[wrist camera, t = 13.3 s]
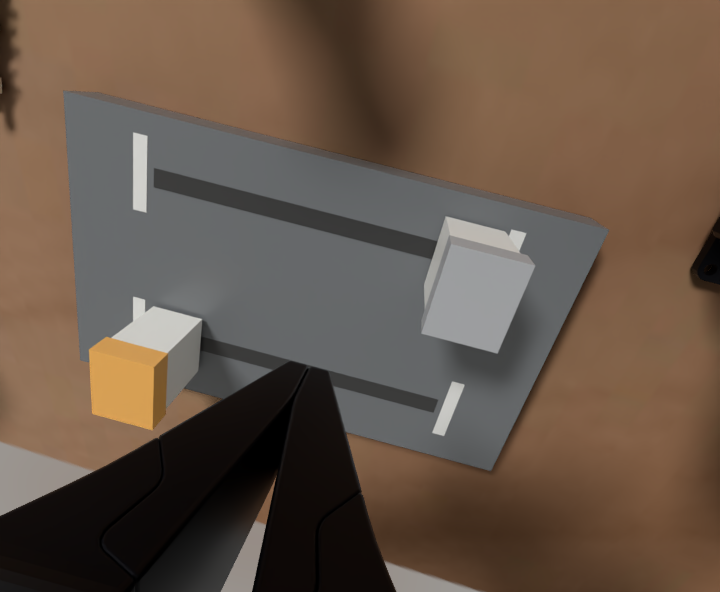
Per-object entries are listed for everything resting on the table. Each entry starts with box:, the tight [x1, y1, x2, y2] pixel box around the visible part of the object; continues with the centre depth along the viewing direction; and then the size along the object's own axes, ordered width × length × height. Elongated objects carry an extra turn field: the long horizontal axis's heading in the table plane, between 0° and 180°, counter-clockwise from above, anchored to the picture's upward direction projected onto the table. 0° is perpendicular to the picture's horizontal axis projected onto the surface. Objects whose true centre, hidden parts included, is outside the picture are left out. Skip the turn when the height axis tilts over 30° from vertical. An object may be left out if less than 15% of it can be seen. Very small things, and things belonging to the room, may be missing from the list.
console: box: [63, 91, 609, 471], centre depth 20 cm, size 22×13×2 cm, turn 77°
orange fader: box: [89, 306, 202, 430], centre depth 19 cm, size 3×3×4 cm
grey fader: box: [421, 216, 535, 354], centre depth 15 cm, size 3×3×4 cm
